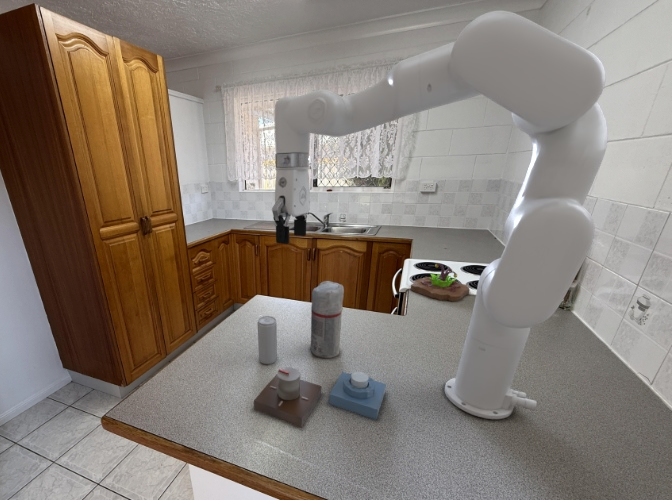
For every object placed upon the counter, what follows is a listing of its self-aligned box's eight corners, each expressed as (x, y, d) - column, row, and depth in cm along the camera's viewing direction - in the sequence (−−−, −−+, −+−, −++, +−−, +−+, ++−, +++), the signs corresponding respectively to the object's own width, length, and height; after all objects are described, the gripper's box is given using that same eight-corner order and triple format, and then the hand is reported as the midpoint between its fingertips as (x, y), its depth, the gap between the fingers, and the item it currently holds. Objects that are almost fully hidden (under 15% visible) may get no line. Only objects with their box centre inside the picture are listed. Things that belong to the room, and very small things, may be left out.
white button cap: (369, 381, 68) (370, 374, 67) (365, 391, 65) (366, 383, 64) (353, 376, 69) (353, 369, 69) (348, 386, 67) (349, 378, 66)
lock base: (321, 395, 70) (321, 385, 69) (301, 428, 61) (301, 417, 60) (278, 380, 75) (278, 371, 74) (254, 409, 66) (253, 399, 65)
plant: (426, 279, 139) (431, 255, 135) (474, 291, 125) (481, 264, 121) (403, 290, 128) (407, 264, 123) (453, 304, 114) (460, 275, 109)
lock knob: (303, 389, 68) (303, 369, 66) (294, 403, 64) (294, 382, 62) (283, 383, 70) (283, 363, 68) (273, 396, 66) (273, 375, 64)
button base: (384, 393, 70) (387, 377, 68) (376, 420, 63) (378, 402, 61) (341, 380, 75) (342, 365, 73) (328, 404, 67) (330, 387, 66)
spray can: (339, 361, 82) (345, 291, 74) (308, 358, 84) (310, 289, 76) (339, 344, 90) (345, 279, 82) (311, 342, 91) (313, 277, 83)
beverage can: (265, 353, 86) (263, 314, 82) (280, 358, 84) (279, 318, 79) (255, 362, 82) (253, 321, 78) (271, 367, 80) (270, 326, 75)
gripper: (290, 162, 61) (290, 248, 67) (321, 162, 75) (318, 234, 81) (257, 163, 64) (260, 245, 71) (293, 163, 78) (292, 232, 85)
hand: (291, 239), depth 76 cm, fingers open, 9 cm apart
